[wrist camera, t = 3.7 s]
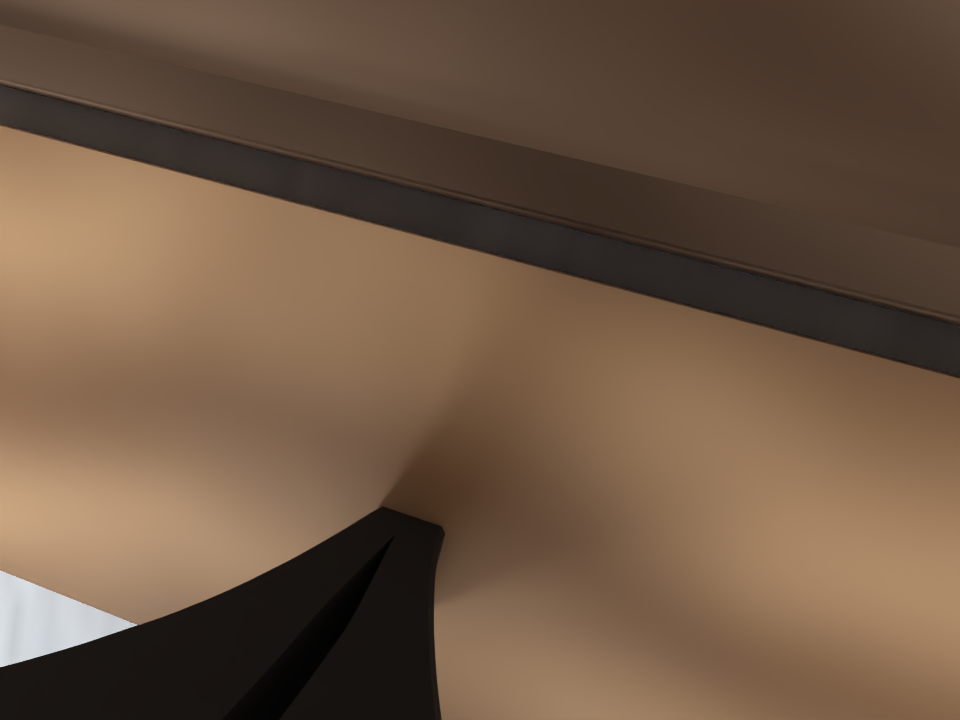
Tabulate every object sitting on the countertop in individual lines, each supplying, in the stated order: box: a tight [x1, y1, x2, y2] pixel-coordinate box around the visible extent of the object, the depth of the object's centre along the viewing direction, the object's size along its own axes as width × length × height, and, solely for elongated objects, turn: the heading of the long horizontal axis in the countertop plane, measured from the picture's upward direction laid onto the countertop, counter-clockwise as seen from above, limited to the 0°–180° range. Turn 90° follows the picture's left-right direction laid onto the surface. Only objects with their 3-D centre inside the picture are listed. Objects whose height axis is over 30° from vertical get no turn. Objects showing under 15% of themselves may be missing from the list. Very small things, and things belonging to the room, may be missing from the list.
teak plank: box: [0, 124, 960, 720], centre depth 10 cm, size 10×26×2 cm, turn 76°
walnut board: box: [0, 0, 960, 326], centre depth 7 cm, size 6×28×2 cm, turn 76°
